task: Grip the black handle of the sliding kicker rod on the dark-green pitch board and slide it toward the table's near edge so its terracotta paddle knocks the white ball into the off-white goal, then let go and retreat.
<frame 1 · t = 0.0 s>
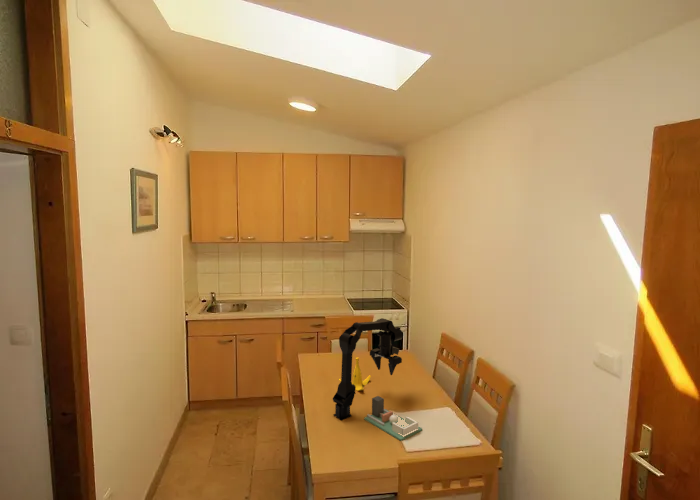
hand: (385, 372, 217), 15 cm above the table, fingers open, 9 cm apart
banana peel: (360, 385, 237), on the table
ball: (393, 419, 192), point 3 cm above the table, touching pitch
kicker: (381, 408, 198), point 5 cm above the table, slide at 0.0 cm
pitch: (392, 424, 193), on the table
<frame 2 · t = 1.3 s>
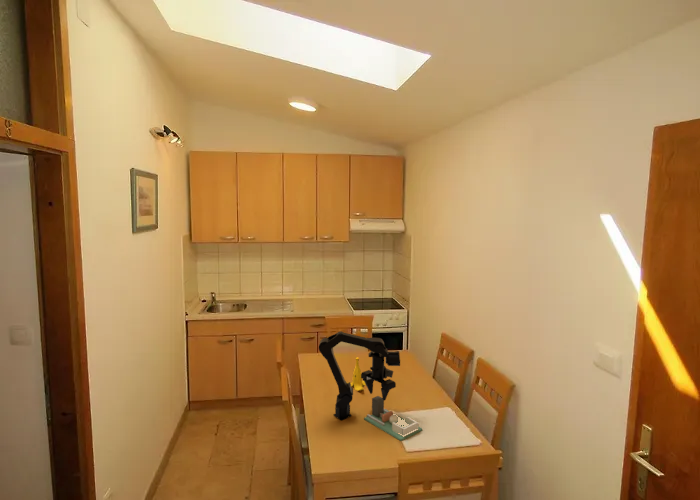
hand: (377, 396, 200), 10 cm above the table, fingers open, 9 cm apart
nothing on the table moved.
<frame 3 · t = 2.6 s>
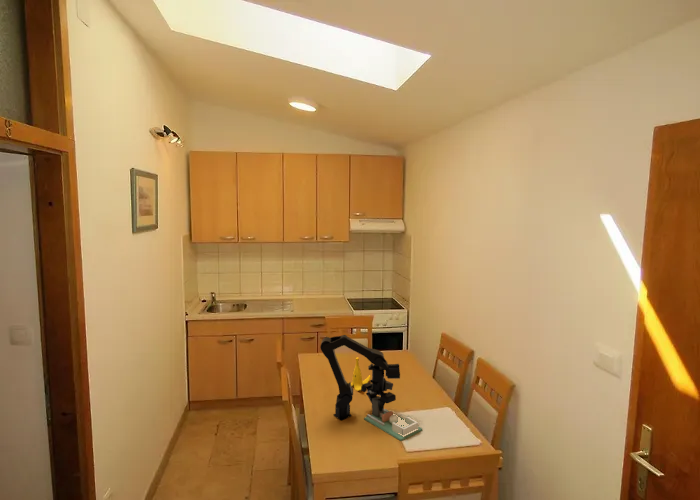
hand: (377, 409, 200), 4 cm above the table, fingers closed on kicker, 4 cm apart
kicker: (381, 408, 198), point 5 cm above the table, slide at 0.0 cm, touching gripper
everything else where it was.
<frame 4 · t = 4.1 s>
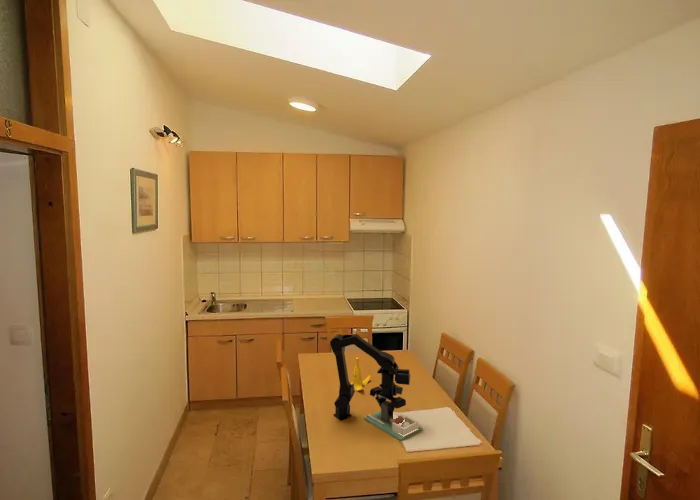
hand: (387, 414, 195), 4 cm above the table, fingers closed on kicker, 4 cm apart
ball: (406, 426, 186), point 3 cm above the table, tilted 140°, touching pitch
kicker: (391, 413, 193), point 5 cm above the table, slide at 6.4 cm, touching gripper
everything else where it was.
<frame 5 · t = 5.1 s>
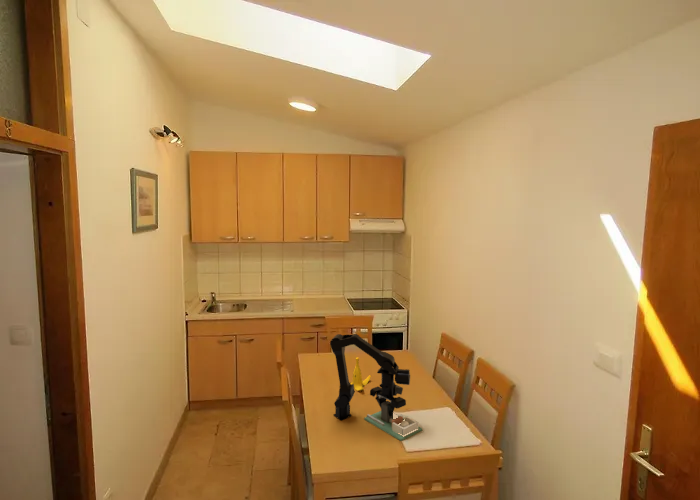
hand: (387, 414, 195), 4 cm above the table, fingers closed on kicker, 4 cm apart
ball: (404, 425, 187), point 3 cm above the table, tilted 163°, touching pitch
kicker: (391, 413, 193), point 5 cm above the table, slide at 6.5 cm, touching gripper
everything else where it was.
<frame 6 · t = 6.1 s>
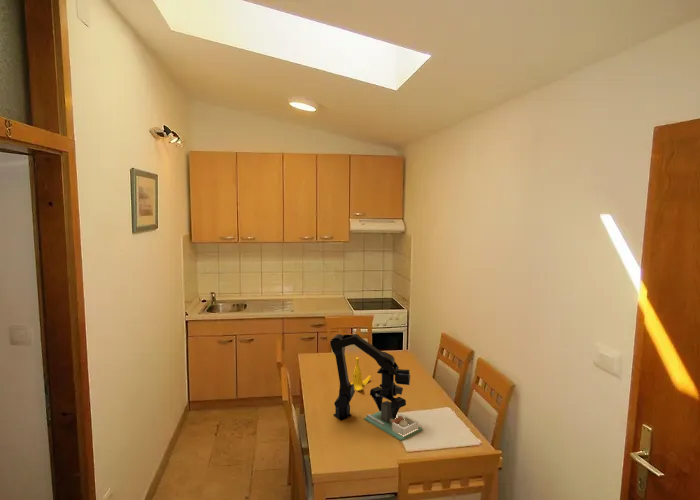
hand: (387, 414, 195), 4 cm above the table, fingers open, 9 cm apart
ball: (403, 424, 187), point 3 cm above the table, tilted 174°, touching pitch
kicker: (391, 413, 193), point 5 cm above the table, slide at 6.5 cm
everything else where it was.
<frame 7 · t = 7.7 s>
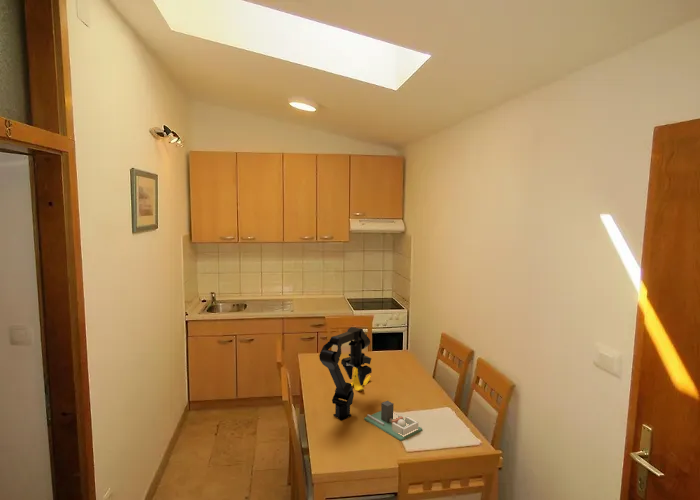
hand: (356, 382, 211), 12 cm above the table, fingers open, 9 cm apart
ball: (401, 423, 188), point 3 cm above the table, tilted 141°, touching pitch
everything else where it was.
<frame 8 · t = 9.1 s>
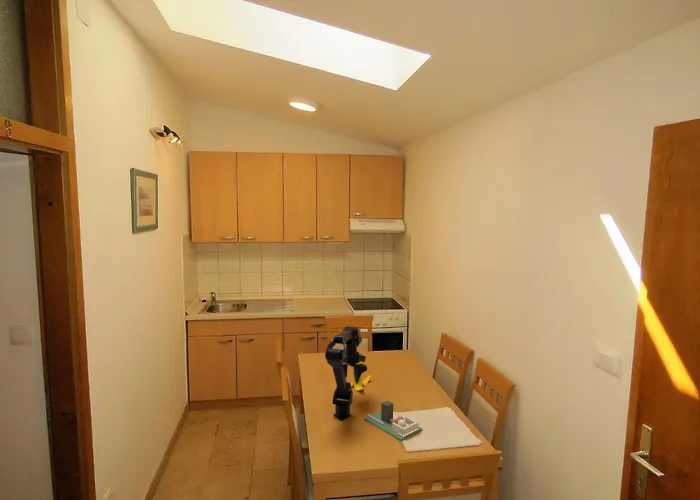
hand: (351, 380, 213), 12 cm above the table, fingers open, 9 cm apart
ball: (401, 424, 188), point 3 cm above the table, tilted 146°, touching pitch
everything else where it was.
at the end: ball inside the target area (1.9 cm from its centre), point 2.8 cm above the table; kicker slide at 6.5 cm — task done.
